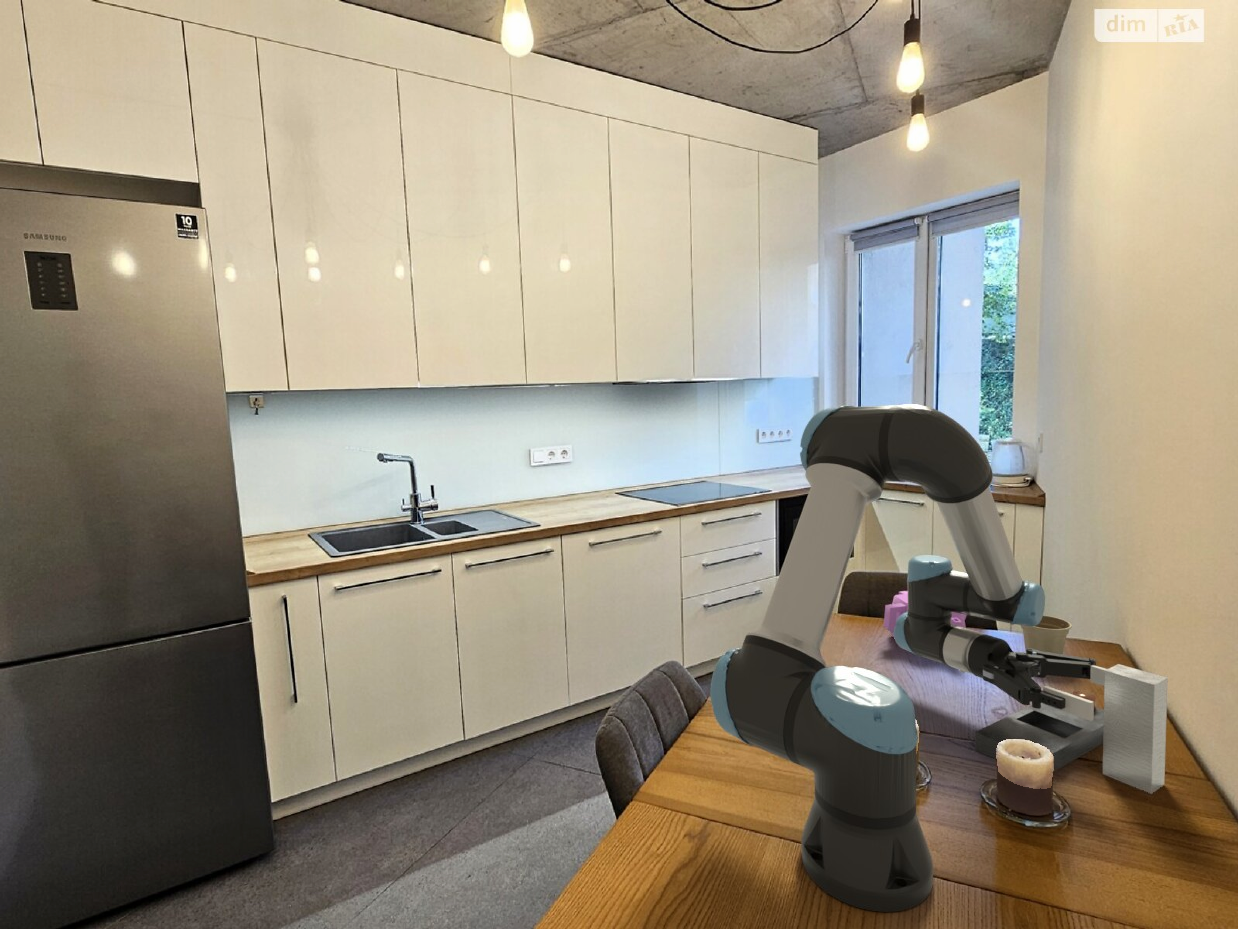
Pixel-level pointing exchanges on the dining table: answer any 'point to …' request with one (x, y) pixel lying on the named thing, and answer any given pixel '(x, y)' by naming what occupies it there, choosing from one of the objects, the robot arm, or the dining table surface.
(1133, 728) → the white rectangular block
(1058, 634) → the flower pot
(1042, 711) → the post stand
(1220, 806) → the dining table surface
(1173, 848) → the dining table surface
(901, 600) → the teakettle
